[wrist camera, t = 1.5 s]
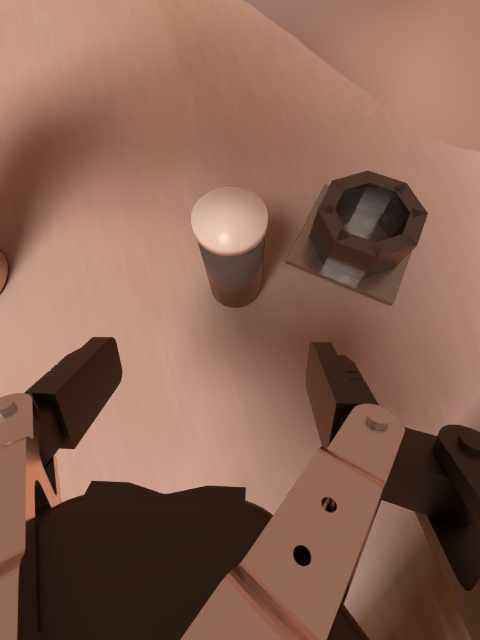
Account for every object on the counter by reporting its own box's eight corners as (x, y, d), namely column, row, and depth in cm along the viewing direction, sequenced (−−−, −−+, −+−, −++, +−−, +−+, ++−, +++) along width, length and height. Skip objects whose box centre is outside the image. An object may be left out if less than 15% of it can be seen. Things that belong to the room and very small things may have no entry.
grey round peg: (200, 295, 28) (176, 231, 18) (225, 255, 29) (213, 176, 20) (247, 316, 27) (247, 260, 17) (270, 274, 28) (280, 201, 19)
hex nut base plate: (285, 262, 29) (292, 235, 24) (323, 187, 32) (335, 152, 28) (390, 305, 27) (417, 283, 23) (420, 221, 30) (448, 188, 26)
